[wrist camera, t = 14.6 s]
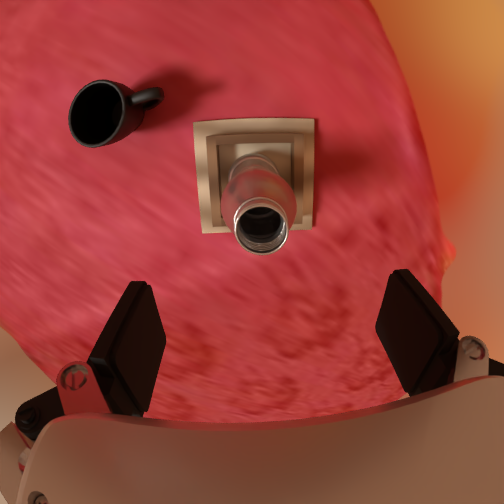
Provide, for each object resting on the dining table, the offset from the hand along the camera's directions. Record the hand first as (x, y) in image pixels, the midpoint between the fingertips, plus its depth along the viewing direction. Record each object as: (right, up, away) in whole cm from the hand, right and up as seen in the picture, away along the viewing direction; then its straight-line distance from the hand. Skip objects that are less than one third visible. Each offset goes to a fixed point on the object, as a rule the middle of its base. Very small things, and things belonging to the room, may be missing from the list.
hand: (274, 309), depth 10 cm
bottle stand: (0, +13, +27) cm, 30 cm away
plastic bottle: (-1, +13, +26) cm, 29 cm away
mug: (-17, +22, +22) cm, 35 cm away
